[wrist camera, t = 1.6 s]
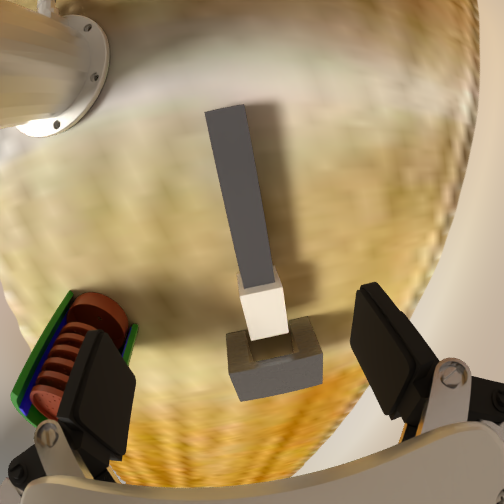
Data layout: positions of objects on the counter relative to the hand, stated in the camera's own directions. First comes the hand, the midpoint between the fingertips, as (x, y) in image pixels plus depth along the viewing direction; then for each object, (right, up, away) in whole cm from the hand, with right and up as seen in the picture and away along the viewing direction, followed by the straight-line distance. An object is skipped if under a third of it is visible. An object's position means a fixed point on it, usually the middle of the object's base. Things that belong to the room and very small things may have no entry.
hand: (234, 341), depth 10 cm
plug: (0, +6, +17) cm, 18 cm away
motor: (-18, -5, +20) cm, 28 cm away
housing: (+3, -8, +24) cm, 26 cm away
